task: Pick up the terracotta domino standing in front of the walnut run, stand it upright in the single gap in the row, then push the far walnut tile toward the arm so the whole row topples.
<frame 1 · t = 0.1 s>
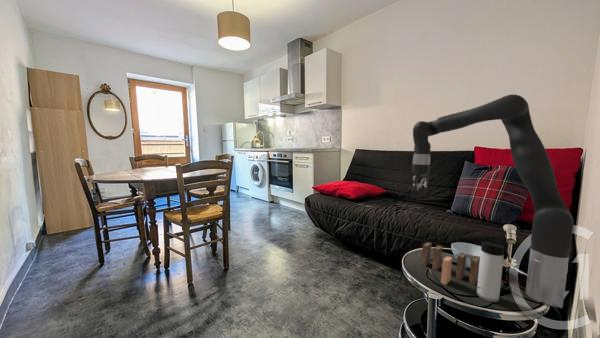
hand: (418, 196, 115), 29 cm above the table, tool pointing down, fingers open, 8 cm apart
walnut tile 3: (460, 276, 97), on the table
travel mug: (487, 297, 84), on the table
chinaware: (469, 265, 107), on the table
walnut tile 2: (436, 268, 103), on the table
terracotta tile: (445, 281, 93), on the table
walnut tile 1: (425, 264, 107), on the table
walnut tile 4: (473, 281, 93), on the table
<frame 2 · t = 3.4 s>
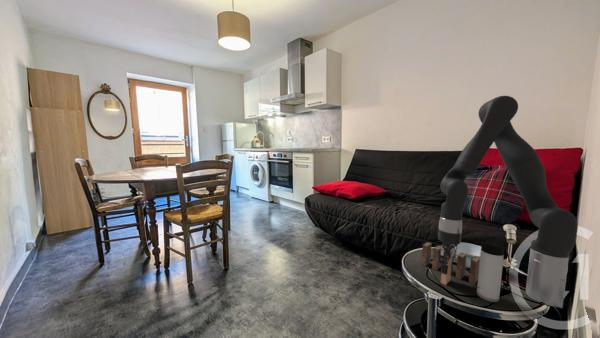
hand: (446, 271, 92), 4 cm above the table, tool pointing down, fingers closed on terracotta tile, 5 cm apart
terracotta tile: (445, 281, 93), on the table, touching gripper
everything else where it was.
when the fingers open (5 cm above the table, at t = 9.1 s): terracotta tile stays where it is, on the table.
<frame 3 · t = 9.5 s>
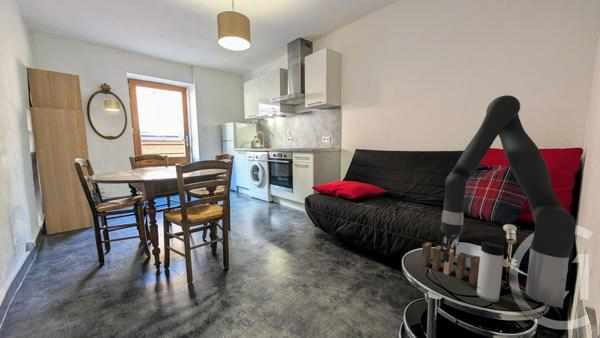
hand: (449, 258, 100), 6 cm above the table, tool pointing down, fingers open, 8 cm apart
terracotta tile: (447, 272, 100), on the table
everything else where it was.
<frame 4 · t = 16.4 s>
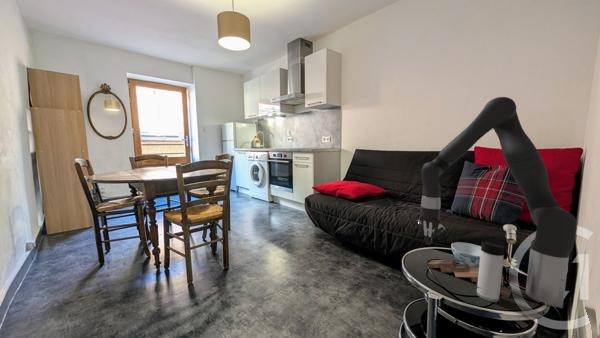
hand: (428, 243, 106), 10 cm above the table, tool pointing down, fingers closed
walnut tile 3: (472, 277, 94), point 1 cm above the table, tilted 68°, touching terracotta tile, walnut tile 4
walnut tile 2: (442, 268, 102), point 1 cm above the table, tilted 68°, touching walnut tile 1
terracotta tile: (456, 272, 98), point 1 cm above the table, tilted 67°, touching walnut tile 3
walnut tile 1: (430, 263, 105), point 1 cm above the table, tilted 68°, touching walnut tile 2
walnut tile 4: (477, 282, 92), on the table, tilted 90°, touching walnut tile 3
everything else where it was.
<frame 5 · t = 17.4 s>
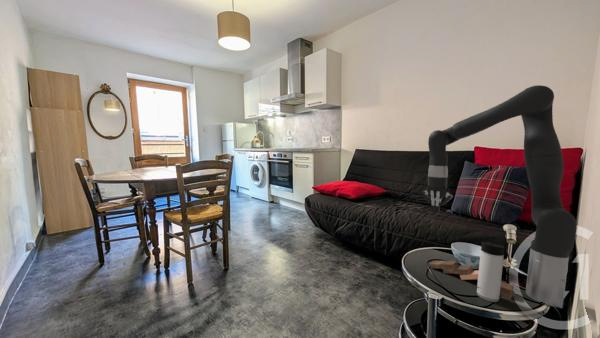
hand: (435, 213, 106), 23 cm above the table, tool pointing down, fingers closed
walnut tile 3: (480, 279, 91), point 2 cm above the table, tilted 90°, touching walnut tile 4
walnut tile 2: (445, 269, 101), point 1 cm above the table, tilted 69°, touching walnut tile 1
terracotta tile: (462, 275, 96), point 1 cm above the table, tilted 62°
walnut tile 1: (432, 264, 105), point 1 cm above the table, tilted 69°, touching walnut tile 2
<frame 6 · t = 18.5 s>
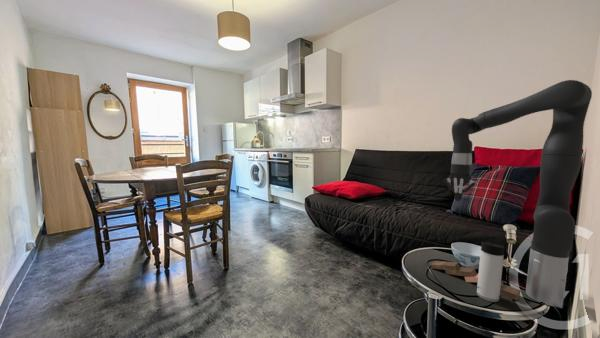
hand: (458, 200, 107), 29 cm above the table, tool pointing down, fingers closed
walnut tile 3: (485, 282, 90), point 1 cm above the table, tilted 89°, touching terracotta tile, walnut tile 4
walnut tile 2: (447, 269, 100), point 1 cm above the table, tilted 73°, touching terracotta tile, walnut tile 1
terracotta tile: (467, 277, 95), point 1 cm above the table, tilted 66°, touching walnut tile 2, walnut tile 3
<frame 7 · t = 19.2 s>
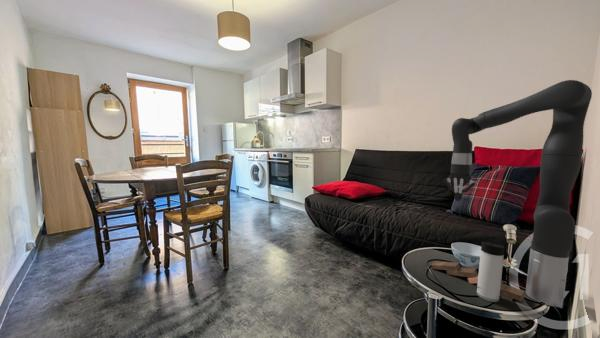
hand: (458, 200, 107), 29 cm above the table, tool pointing down, fingers closed
walnut tile 3: (488, 283, 89), point 2 cm above the table, tilted 90°, touching walnut tile 4
walnut tile 2: (448, 270, 100), point 1 cm above the table, tilted 74°, touching walnut tile 1
terracotta tile: (470, 278, 94), point 1 cm above the table, tilted 63°
walnut tile 1: (433, 264, 104), point 1 cm above the table, tilted 73°, touching walnut tile 2
at the end: walnut tile 4 tilted 90°; terracotta tile tilted 62°; terracotta tile inside the target area (2.3 cm from its centre), point 0.8 cm above the table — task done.
